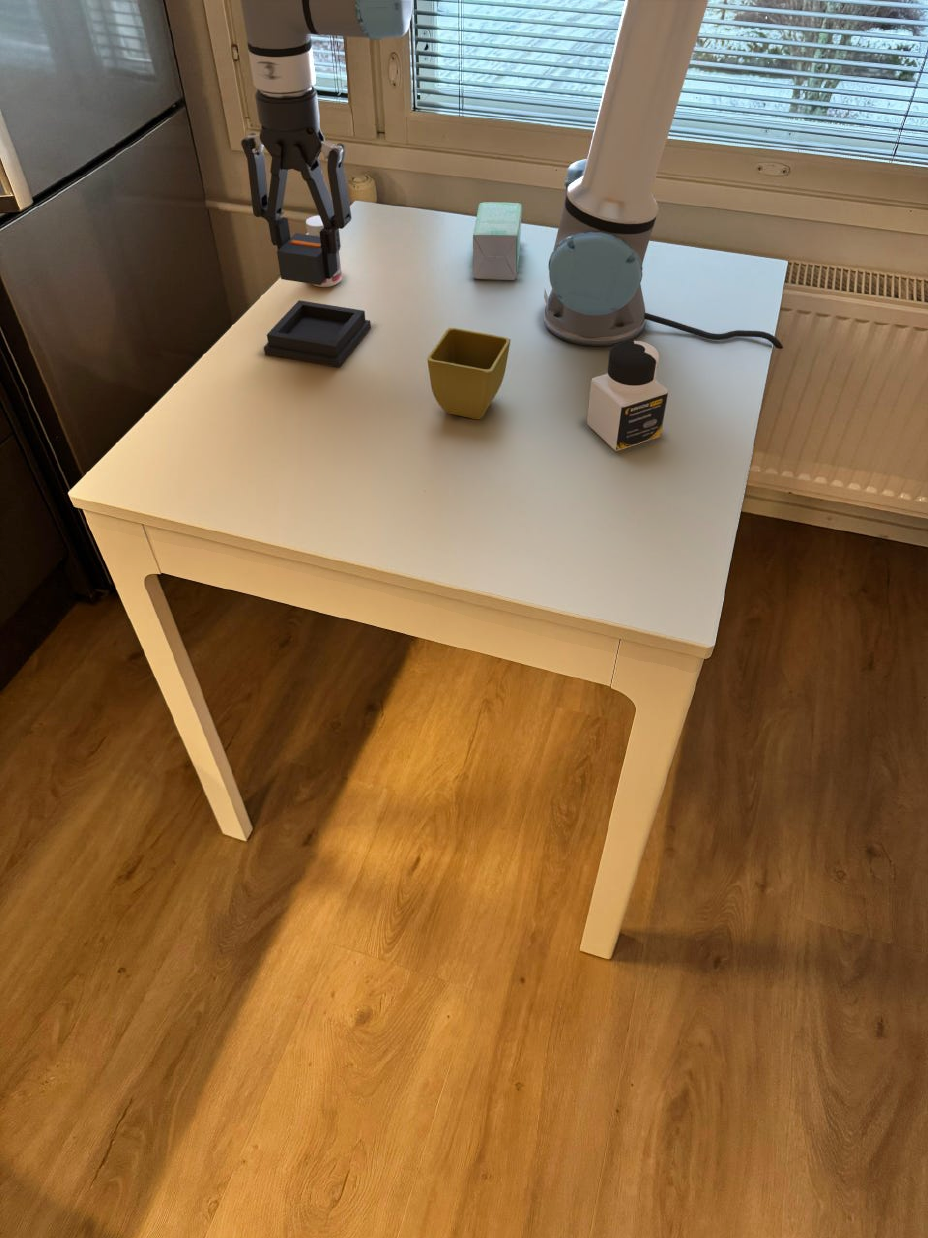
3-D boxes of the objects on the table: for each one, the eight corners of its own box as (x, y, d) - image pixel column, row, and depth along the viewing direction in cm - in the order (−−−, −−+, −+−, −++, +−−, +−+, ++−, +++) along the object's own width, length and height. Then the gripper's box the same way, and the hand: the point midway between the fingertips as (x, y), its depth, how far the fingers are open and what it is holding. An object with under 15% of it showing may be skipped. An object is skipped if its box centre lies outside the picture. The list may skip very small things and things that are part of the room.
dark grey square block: (337, 266, 129) (334, 236, 126) (320, 285, 126) (316, 255, 122) (299, 260, 131) (295, 230, 128) (280, 279, 127) (276, 249, 124)
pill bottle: (334, 269, 152) (328, 210, 145) (347, 283, 149) (340, 223, 142) (304, 277, 151) (296, 217, 144) (316, 290, 147) (308, 230, 140)
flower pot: (509, 396, 126) (511, 337, 120) (490, 431, 120) (491, 371, 114) (449, 385, 128) (448, 326, 122) (427, 419, 122) (425, 359, 116)
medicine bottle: (615, 452, 117) (627, 370, 108) (585, 424, 121) (594, 342, 113) (661, 437, 119) (676, 355, 110) (630, 410, 124) (642, 328, 115)
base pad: (371, 327, 139) (369, 309, 137) (339, 367, 131) (337, 348, 129) (299, 315, 142) (297, 297, 140) (264, 354, 134) (261, 335, 132)
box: (520, 243, 159) (522, 200, 153) (517, 280, 149) (518, 235, 144) (478, 243, 159) (478, 199, 154) (472, 279, 150) (472, 234, 144)
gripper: (200, 89, 111) (236, 273, 128) (345, 105, 107) (361, 293, 123) (230, 71, 116) (260, 250, 132) (369, 85, 112) (382, 268, 128)
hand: (309, 270), depth 128 cm, fingers closed on dark grey square block, 6 cm apart
